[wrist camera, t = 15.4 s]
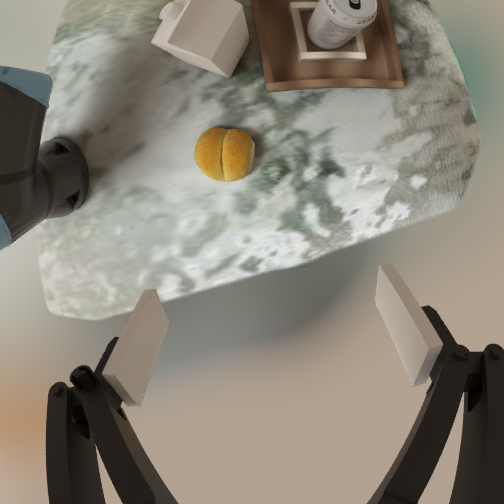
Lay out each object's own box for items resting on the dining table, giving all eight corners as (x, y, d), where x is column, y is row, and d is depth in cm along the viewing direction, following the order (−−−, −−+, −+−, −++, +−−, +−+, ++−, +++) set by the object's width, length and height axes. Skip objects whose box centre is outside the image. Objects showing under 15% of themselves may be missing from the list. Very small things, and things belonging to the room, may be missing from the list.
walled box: (266, 92, 36) (267, 87, 29) (248, -8, 28) (245, -29, 21) (393, 89, 34) (416, 86, 27) (373, -7, 26) (391, -24, 19)
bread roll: (198, 125, 39) (192, 126, 36) (257, 131, 40) (257, 132, 36) (194, 176, 43) (188, 182, 40) (251, 182, 43) (249, 189, 40)
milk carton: (250, 40, 33) (239, -10, 16) (229, 78, 36) (202, 52, 19) (207, 25, 31) (169, -26, 15) (187, 63, 34) (133, 34, 18)
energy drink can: (345, 20, 29) (380, -16, 16) (345, 53, 32) (384, 28, 18) (305, 14, 29) (324, -28, 16) (305, 48, 32) (326, 16, 19)
